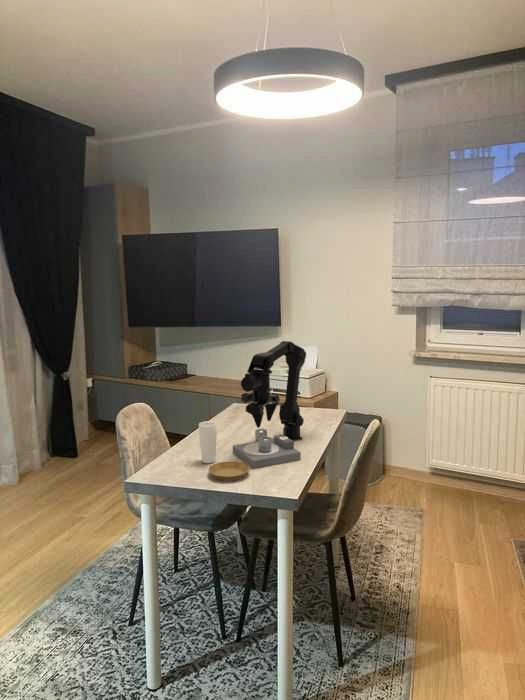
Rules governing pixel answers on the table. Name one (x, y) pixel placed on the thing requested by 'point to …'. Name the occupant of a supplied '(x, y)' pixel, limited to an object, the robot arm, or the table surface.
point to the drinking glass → (208, 441)
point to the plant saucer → (229, 470)
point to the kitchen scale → (279, 454)
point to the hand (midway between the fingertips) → (263, 424)
